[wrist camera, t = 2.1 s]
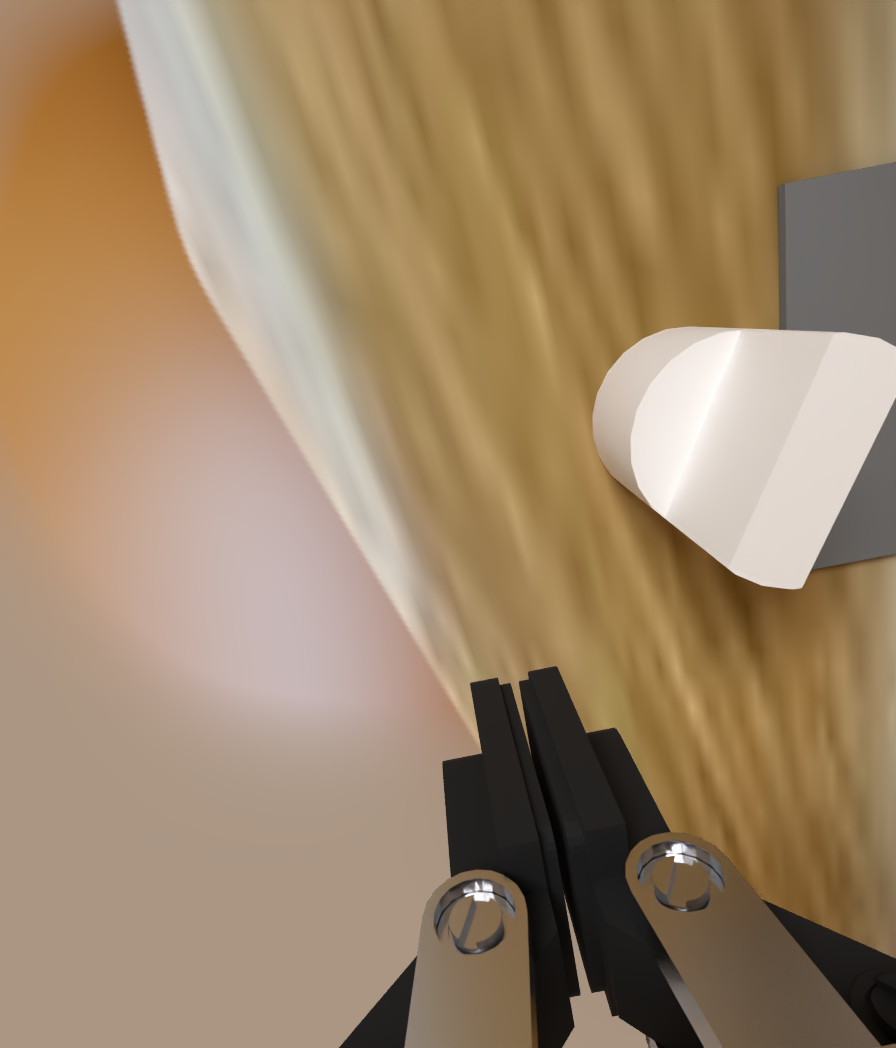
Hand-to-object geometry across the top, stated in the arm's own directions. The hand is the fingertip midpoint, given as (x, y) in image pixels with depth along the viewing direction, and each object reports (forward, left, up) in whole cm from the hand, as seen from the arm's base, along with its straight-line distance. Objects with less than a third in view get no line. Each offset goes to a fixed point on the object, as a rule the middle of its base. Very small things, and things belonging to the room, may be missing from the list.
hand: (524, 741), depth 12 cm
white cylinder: (0, +12, -23) cm, 26 cm away
